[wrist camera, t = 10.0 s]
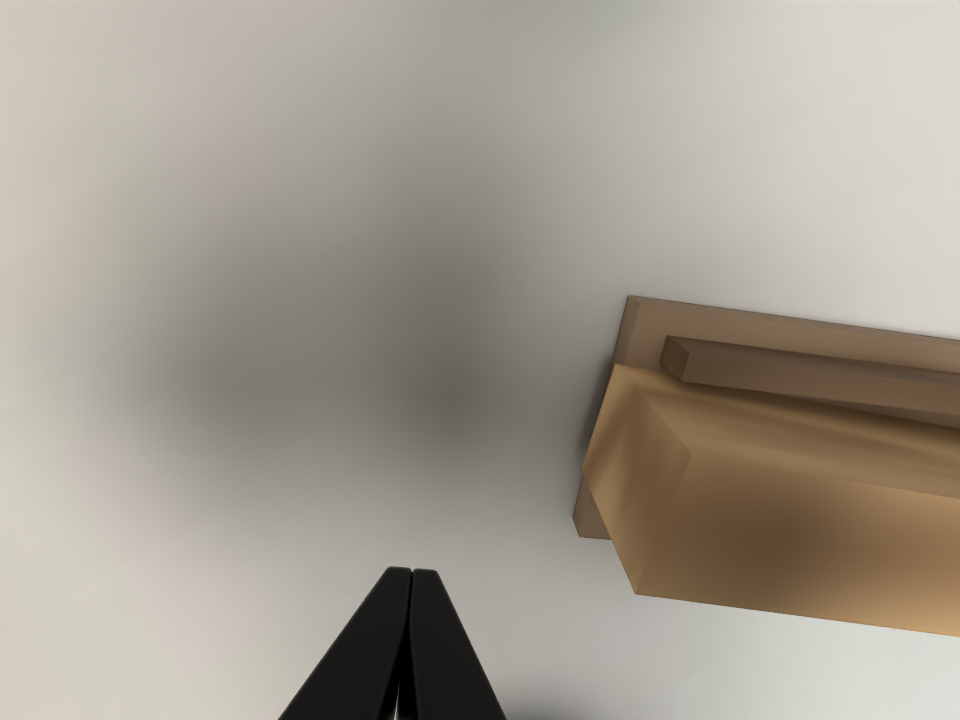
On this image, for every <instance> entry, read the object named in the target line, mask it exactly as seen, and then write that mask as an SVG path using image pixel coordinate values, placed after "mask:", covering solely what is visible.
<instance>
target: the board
mask: <svg viewBox="0 0 960 720" xmlns="http://www.w3.org/2000/svg"><path fill="white" fill-rule="evenodd" d="M615 364H621V365H626V366H631V367H636V368H642V369H647V370H652V371H658V372H663V373H668V374H673V375H675V376H676V377H677V378H678V379H679V380H681V381H683V382H691V383H700V384H708V385H716V386H724V387H733V388H741V389H749V390H757V391H763V392H768V393H774V394H779V395H784V396H789V397H795V398H800V399H805V400H810V401H816V402H821V403H826V404H832V405H837V406H842V407H847V408H853V409H858V410H863V411H869V412H874V413H879V414H884V415H890V416H895V417H900V418H905V419H911V420H916V421H921V422H927V423H932V424H937V425H942V426H948V427H953V428H958V429H960V341H959V340H952V339H944V338H937V337H930V336H922V335H915V334H908V333H901V332H893V331H886V330H879V329H871V328H864V327H857V326H849V325H842V324H835V323H828V322H820V321H813V320H806V319H798V318H791V317H784V316H777V315H769V314H762V313H755V312H747V311H740V310H733V309H726V308H718V307H711V306H704V305H696V304H689V303H682V302H674V301H667V300H660V299H653V298H645V297H638V296H631V295H629V296H628V300H627V304H626V308H625V312H624V316H623V320H622V324H621V328H620V332H619V336H618V339H617V343H616V347H615V351H614V355H613V359H612V363H611V367H610V371H609V375H608V379H607V383H606V387H605V391H604V395H603V399H602V403H603V400H604V397H605V394H606V391H607V388H608V385H609V382H610V379H611V376H612V373H613V370H614V366H615ZM602 403H601V406H602ZM600 409H601V407H600ZM599 413H600V411H599ZM598 416H599V415H598ZM573 520H574V523H575V526H576V529H577V532H578V535H579V537H584V538H595V539H607V540H612V539H611V537H610V535H609V532H608V530H607V528H606V525H605V523H604V521H603V519H602V516H601V514H600V512H599V509H598V507H597V505H596V502H595V500H594V498H593V495H592V493H591V491H590V489H589V486H588V484H587V482H586V479H585V477H584V475H583V478H582V482H581V486H580V490H579V494H578V498H577V502H576V506H575V510H574V514H573Z"/></svg>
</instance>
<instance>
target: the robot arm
mask: <svg viewBox="0 0 960 720" xmlns="http://www.w3.org/2000/svg"><path fill="white" fill-rule="evenodd" d="M398 689H399V690H398ZM397 696H398V700H397ZM396 704H397V712H396V720H507V719H506V717H505V715H504V713H503V711H502V708H501V706H500V704H499V702H498V700H497V698H496V696H495V693H494V691H493V689H492V687H491V685H490V683H489V681H488V679H487V676H486V674H485V672H484V670H483V668H482V666H481V664H480V661H479V659H478V657H477V655H476V653H475V651H474V649H473V647H472V644H471V642H470V640H469V638H468V636H467V634H466V632H465V629H464V627H463V625H462V623H461V621H460V619H459V617H458V615H457V612H456V610H455V608H454V606H453V604H452V602H451V600H450V597H449V595H448V593H447V591H446V589H445V587H444V585H443V583H442V580H441V578H440V576H439V574H438V572H437V571H435V570H430V569H418V568H417V569H414V570H413V572H412V570H411V569H410V568H405V567H393V566H391V567H388V568H387V569H386V570H385V572H384V573H383V574H382V576H381V577H380V579H379V580H378V581H377V583H376V584H375V586H374V587H373V588H372V590H371V591H370V593H369V594H368V595H367V597H366V598H365V599H364V601H363V602H362V604H361V605H360V606H359V608H358V609H357V611H356V612H355V613H354V615H353V616H352V617H351V619H350V620H349V622H348V623H347V624H346V626H345V627H344V629H343V630H342V631H341V633H340V634H339V635H338V637H337V638H336V640H335V641H334V642H333V644H332V645H331V647H330V648H329V649H328V651H327V652H326V653H325V655H324V656H323V658H322V659H321V660H320V662H319V663H318V665H317V666H316V667H315V669H314V670H313V671H312V673H311V674H310V676H309V677H308V678H307V680H306V681H305V683H304V684H303V685H302V687H301V688H300V690H299V691H298V692H297V694H296V695H295V696H294V698H293V699H292V701H291V702H290V703H289V705H288V706H287V708H286V709H285V710H284V712H283V713H282V714H281V716H280V717H279V719H278V720H394V717H395V711H396Z"/></svg>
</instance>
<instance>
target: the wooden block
mask: <svg viewBox="0 0 960 720" xmlns="http://www.w3.org/2000/svg"><path fill="white" fill-rule="evenodd" d="M581 470H582V472H583V475H584V477H585V479H586V482H587V484H588V486H589V489H590V491H591V493H592V495H593V498H594V500H595V502H596V505H597V507H598V509H599V512H600V514H601V516H602V519H603V521H604V523H605V525H606V528H607V530H608V532H609V535H610V537H611V539H612V542H613V544H614V546H615V549H616V551H617V553H618V556H619V558H620V560H621V562H622V565H623V567H624V569H625V572H626V574H627V576H628V579H629V581H630V583H631V586H632V588H633V590H634V593H635V594H638V595H646V596H653V597H661V598H668V599H676V600H683V601H691V602H699V603H706V604H714V605H721V606H729V607H736V608H744V609H752V610H759V611H767V612H774V613H782V614H789V615H797V616H805V617H812V618H820V619H827V620H835V621H842V622H850V623H857V624H865V625H873V626H880V627H888V628H895V629H903V630H910V631H918V632H926V633H933V634H941V635H948V636H956V637H960V429H958V428H953V427H948V426H942V425H937V424H932V423H927V422H921V421H916V420H911V419H905V418H900V417H895V416H890V415H884V414H879V413H874V412H869V411H863V410H858V409H853V408H847V407H842V406H837V405H832V404H826V403H821V402H816V401H810V400H805V399H800V398H795V397H789V396H784V395H779V394H774V393H768V392H763V391H757V390H749V389H741V388H733V387H724V386H716V385H708V384H700V383H691V382H683V381H681V380H679V379H678V378H677V377H676V376H675V375H673V374H668V373H663V372H658V371H652V370H647V369H642V368H636V367H631V366H626V365H621V364H615V366H614V370H613V373H612V376H611V379H610V382H609V385H608V388H607V391H606V394H605V397H604V400H603V403H602V406H601V409H600V413H599V416H598V419H597V422H596V425H595V428H594V431H593V434H592V437H591V440H590V443H589V446H588V449H587V452H586V455H585V459H584V462H583V465H582V468H581Z"/></svg>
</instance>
